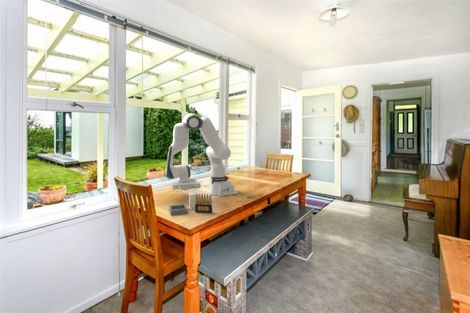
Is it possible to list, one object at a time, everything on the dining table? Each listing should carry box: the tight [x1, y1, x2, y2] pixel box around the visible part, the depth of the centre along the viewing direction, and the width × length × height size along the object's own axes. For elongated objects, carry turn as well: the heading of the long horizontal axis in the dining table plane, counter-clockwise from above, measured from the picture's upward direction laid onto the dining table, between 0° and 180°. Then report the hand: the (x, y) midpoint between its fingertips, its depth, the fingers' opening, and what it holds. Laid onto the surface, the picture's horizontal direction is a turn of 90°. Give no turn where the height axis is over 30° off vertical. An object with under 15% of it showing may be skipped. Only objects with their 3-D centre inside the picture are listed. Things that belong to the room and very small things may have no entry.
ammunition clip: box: [194, 192, 213, 214], centre depth 157 cm, size 11×2×12 cm, turn 81°
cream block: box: [188, 192, 196, 211], centre depth 165 cm, size 4×4×10 cm
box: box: [168, 203, 188, 216], centre depth 158 cm, size 10×10×3 cm
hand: (188, 187), depth 175 cm, fingers open, 8 cm apart
